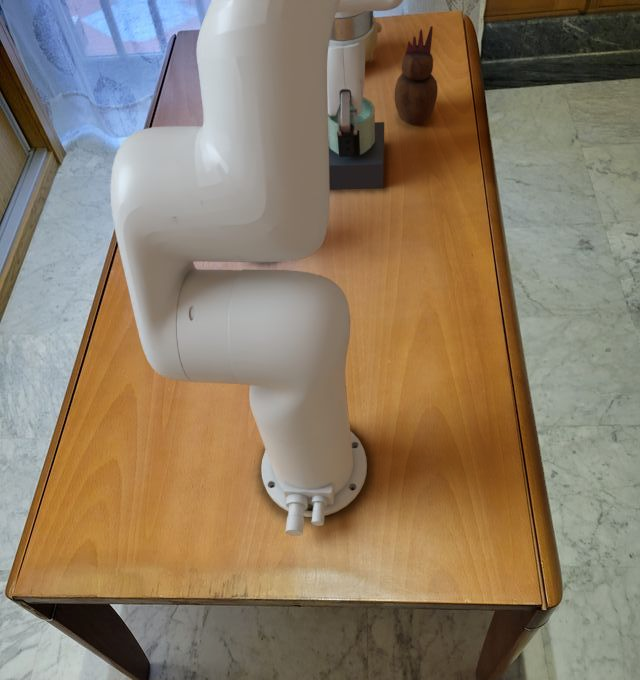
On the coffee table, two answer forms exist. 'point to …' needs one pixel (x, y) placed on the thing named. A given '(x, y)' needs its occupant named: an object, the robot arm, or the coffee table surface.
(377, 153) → the block
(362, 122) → the bowl
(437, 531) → the coffee table surface
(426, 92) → the wooden figurine
